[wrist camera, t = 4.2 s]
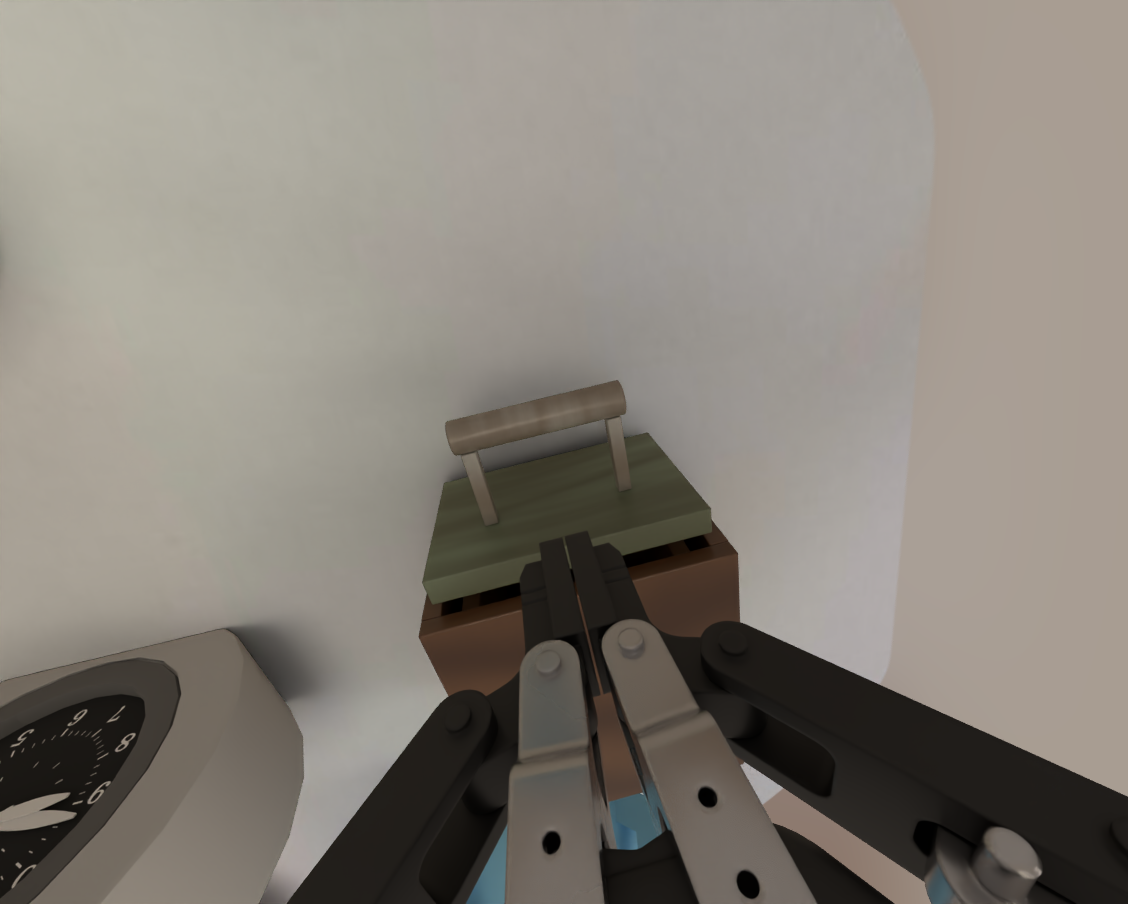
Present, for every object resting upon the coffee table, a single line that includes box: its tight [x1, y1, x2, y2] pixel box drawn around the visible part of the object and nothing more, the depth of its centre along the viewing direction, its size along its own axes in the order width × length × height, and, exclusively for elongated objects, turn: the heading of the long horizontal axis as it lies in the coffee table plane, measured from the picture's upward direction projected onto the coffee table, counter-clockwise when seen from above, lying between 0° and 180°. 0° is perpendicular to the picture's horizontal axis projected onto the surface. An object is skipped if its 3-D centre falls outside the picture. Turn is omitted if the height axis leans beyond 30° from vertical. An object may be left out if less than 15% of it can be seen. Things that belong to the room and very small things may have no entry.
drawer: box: [422, 380, 712, 611], centre depth 22 cm, size 18×11×8 cm, turn 12°
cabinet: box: [419, 520, 744, 802], centre depth 24 cm, size 15×13×10 cm
